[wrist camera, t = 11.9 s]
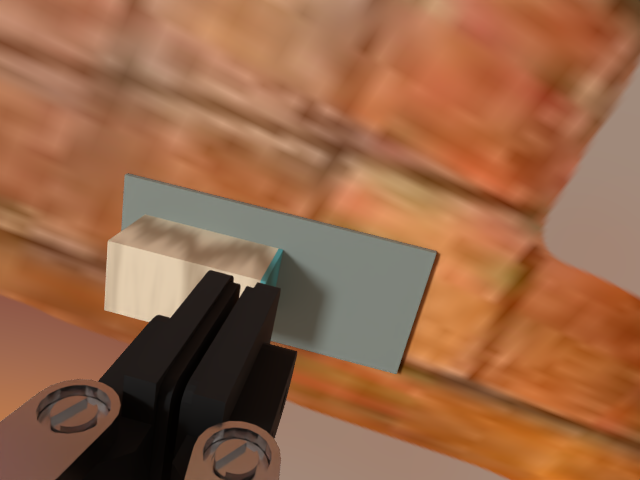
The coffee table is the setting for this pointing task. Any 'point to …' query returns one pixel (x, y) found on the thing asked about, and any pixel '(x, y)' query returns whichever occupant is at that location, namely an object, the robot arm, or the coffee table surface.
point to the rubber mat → (311, 272)
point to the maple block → (177, 265)
